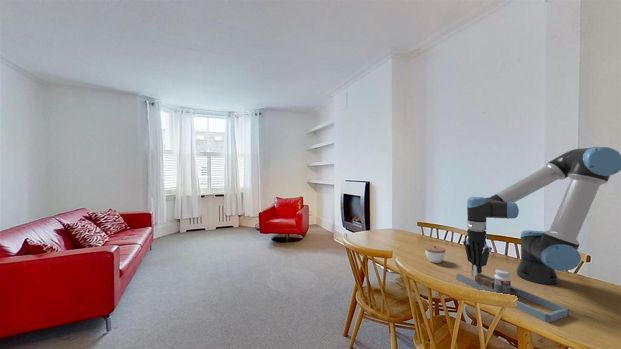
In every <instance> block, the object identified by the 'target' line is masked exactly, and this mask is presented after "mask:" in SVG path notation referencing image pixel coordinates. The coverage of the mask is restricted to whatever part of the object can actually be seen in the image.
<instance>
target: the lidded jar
mask: <svg viewBox="0 0 621 349" xmlns="http://www.w3.org/2000/svg"><path fill="white" fill-rule="evenodd" d="M424 249H425V250H424V251H425V256H426V259H427V260H428V261H429V262H430V263H433V264H440V263H441V262H442V261H444V259H445V257H446V249H445V248H444V247H442V246H439V245H435V244H434V245H425V247H424Z"/></svg>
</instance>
